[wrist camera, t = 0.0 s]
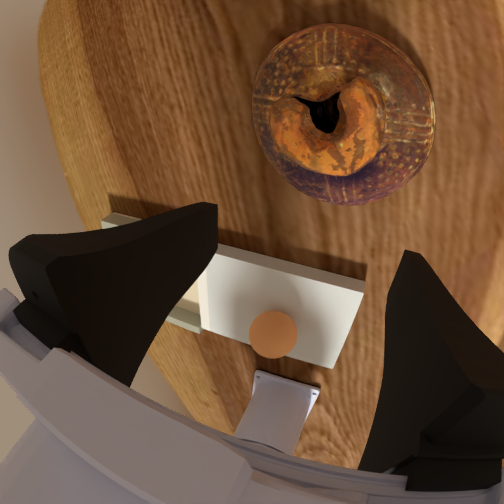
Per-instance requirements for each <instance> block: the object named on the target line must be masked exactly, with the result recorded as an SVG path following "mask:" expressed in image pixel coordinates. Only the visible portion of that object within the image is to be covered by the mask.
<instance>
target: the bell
mask: <svg viewBox="0 0 504 504" xmlns="http://www.w3.org/2000/svg"><path fill="white" fill-rule="evenodd" d="M314 36H315V37H314ZM316 37H317V38H316ZM335 48H336V49H335ZM325 49H326V50H325ZM335 51H336V52H335ZM289 53H290V54H289ZM318 59H319V60H318ZM305 62H306V63H305ZM317 64H318V65H317ZM343 66H344V67H343ZM405 73H406V74H405ZM398 74H399V75H398ZM280 81H281V82H280ZM336 81H337V82H336ZM378 86H379V87H378ZM289 88H290V89H289ZM332 89H333V90H332ZM335 89H336V90H335ZM402 93H403V94H402ZM407 93H408V94H407ZM293 96H296V97H300V98H303V99H307V100H311V101H315V102H321V101H325V109H326V112H327V113H328V115H329V116H330V118H331V119H332V121H333V122H334V124H335V125H336V129H335V130H334V132H333V133H329V134H326V133H324V132H321V131H320V130H318V129H317V128H316V127H315V126H314V124H313V122H312V120H311V117H310V109H309V107H307V106H306V105H305V104H303V103H300V102H299V101H298V100H296V98H293ZM405 96H406V97H405ZM251 98H252V99H251V107H252V113H251V115H252V125H253V128H254V131H255V133H256V137H257V140H258V142H259V145H260V148H261V150H262V152H263V153H264V155H265V156H266V158H267V160H268V161H269V162H270V164H271V165H272V167H273V168H274V169H275V170H276V171H277V172H278V173H279V175H280V176H282V177H283V178H284V179H285V180H286V181H287V182H288V183H290V184H291V185H293V186H294V187H295V188H296V189H297V190H299V191H301V192H303V193H304V194H306V195H308V196H311V197H313V198H315V199H318V200H321V201H324V202H328V203H331V204H334V205H350V206H353V205H362V204H366V203H370V202H373V201H377V200H380V199H383V198H385V197H387V196H388V195H390V194H391V193H393V192H395V191H396V190H398V189H399V188H401V187H402V186H403V185H405V184H406V183H407V182H408V181H409V180H410V179H412V178H413V177H414V176H415V175H416V174H417V173H418V172H419V171H420V169H421V168H422V167H423V165H424V163H425V161H426V160H427V158H428V156H429V153H430V151H431V149H432V146H433V143H434V139H435V131H436V112H435V105H434V99H433V97H432V94H431V90H430V88H429V86H428V83H427V81H426V79H425V77H424V76H423V74H422V73H421V71H420V70H419V69H418V68H417V67H416V66H415V65H414V63H413V62H412V60H411V58H410V57H409V56H408V55H407V54H406V53H405V52H404V51H403V50H402V49H400V48H399V47H398V46H396V45H395V44H393V43H392V42H390V41H389V40H387V39H385V38H384V37H382V36H380V35H378V34H376V33H374V32H371V31H369V30H366V29H363V28H360V27H355V26H351V25H347V24H339V23H326V24H319V25H314V26H310V27H307V28H305V29H303V30H301V31H298V32H294V33H292V34H291V35H290V36H289V37H288V38H286V39H284V40H283V41H281V42H280V43H278V44H277V45H276V46H275V47H274V48H273V49H272V50H271V51H270V52H269V53H268V55H267V56H266V58H265V59H264V61H263V62H262V64H261V65H260V67H259V69H258V71H257V73H256V76H255V79H254V84H253V89H252V97H251ZM316 99H317V100H316ZM336 99H338V101H337V107H338V110H339V114H340V117H338V116H337V115H336V114H335V113H334V112H333V109H332V105H333V102H334V101H335V100H336ZM410 102H411V103H410ZM423 105H424V106H423ZM317 113H318V116H321V114H322V110H321V107H319V108H318V110H317ZM390 115H391V116H390ZM336 121H337V122H336ZM268 122H269V123H268ZM401 123H402V124H401ZM299 128H300V129H299ZM373 136H374V137H373ZM305 138H306V139H305ZM326 138H327V139H326ZM371 143H372V144H371ZM326 144H327V145H326ZM400 155H401V156H400ZM408 164H409V165H408ZM355 172H356V173H355ZM328 176H329V177H328ZM400 176H401V177H400ZM358 192H359V193H358Z"/></svg>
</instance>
